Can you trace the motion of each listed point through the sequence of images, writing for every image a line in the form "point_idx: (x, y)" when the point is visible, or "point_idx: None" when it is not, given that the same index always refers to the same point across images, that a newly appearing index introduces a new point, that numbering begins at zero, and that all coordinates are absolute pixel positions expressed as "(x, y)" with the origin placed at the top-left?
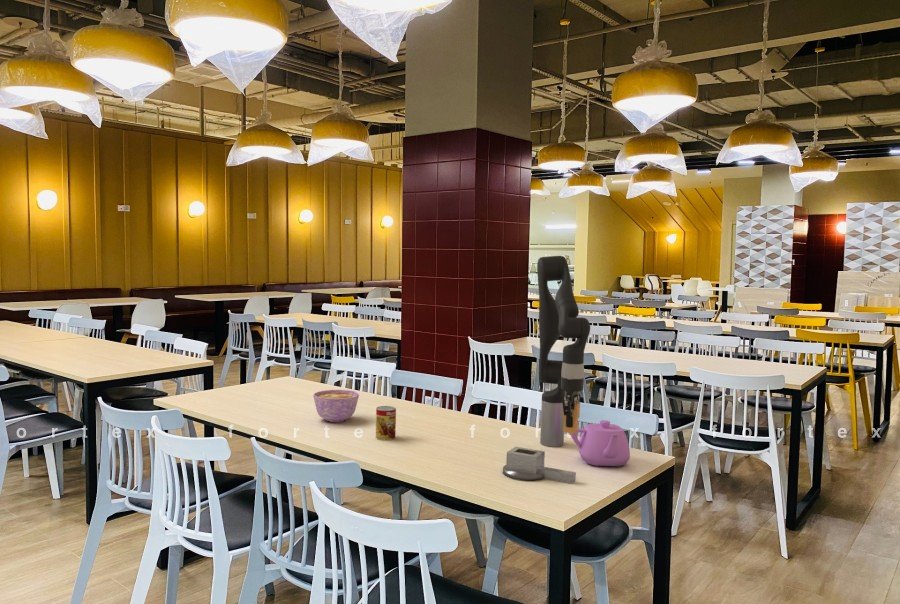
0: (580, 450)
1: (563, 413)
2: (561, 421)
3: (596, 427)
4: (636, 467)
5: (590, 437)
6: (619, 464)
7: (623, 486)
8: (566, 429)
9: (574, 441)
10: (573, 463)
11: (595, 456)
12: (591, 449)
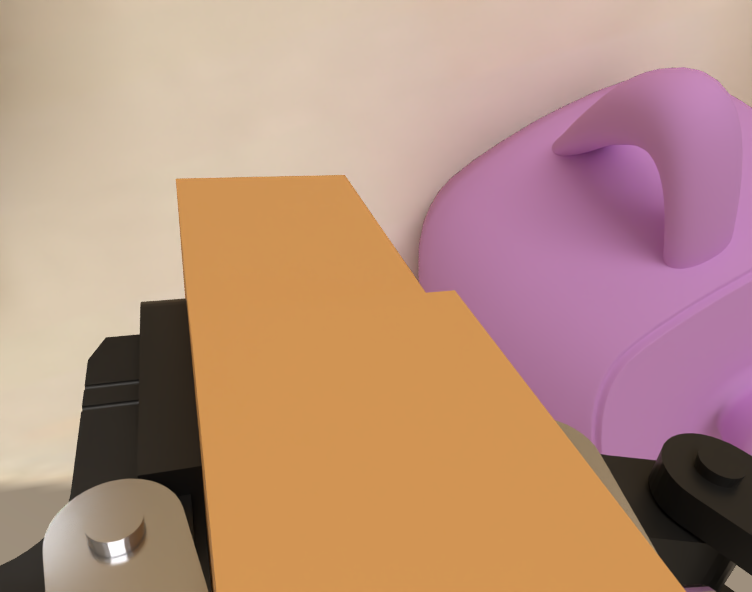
0: (551, 135)
1: (200, 426)
2: None
3: (734, 355)
4: None
5: (550, 316)
6: None
7: None
8: (182, 259)
9: (594, 103)
10: (449, 63)
11: (428, 289)
12: (459, 284)
